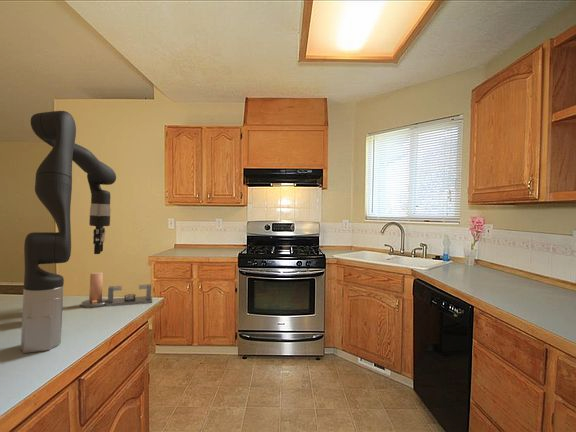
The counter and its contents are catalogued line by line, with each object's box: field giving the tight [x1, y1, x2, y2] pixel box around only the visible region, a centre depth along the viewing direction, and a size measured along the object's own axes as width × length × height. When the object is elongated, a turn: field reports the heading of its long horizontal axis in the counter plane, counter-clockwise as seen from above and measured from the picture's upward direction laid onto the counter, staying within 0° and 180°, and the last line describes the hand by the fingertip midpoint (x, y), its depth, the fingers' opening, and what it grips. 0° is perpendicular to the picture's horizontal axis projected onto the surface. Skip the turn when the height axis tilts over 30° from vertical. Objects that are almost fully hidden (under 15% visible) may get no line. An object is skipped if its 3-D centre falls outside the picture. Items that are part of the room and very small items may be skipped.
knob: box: [88, 271, 104, 305], centre depth 131 cm, size 5×9×12 cm, turn 26°
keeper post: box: [105, 283, 153, 307], centre depth 137 cm, size 8×18×7 cm, turn 116°
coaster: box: [81, 297, 108, 309], centre depth 132 cm, size 10×10×1 cm
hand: (98, 252), depth 132 cm, fingers open, 8 cm apart
